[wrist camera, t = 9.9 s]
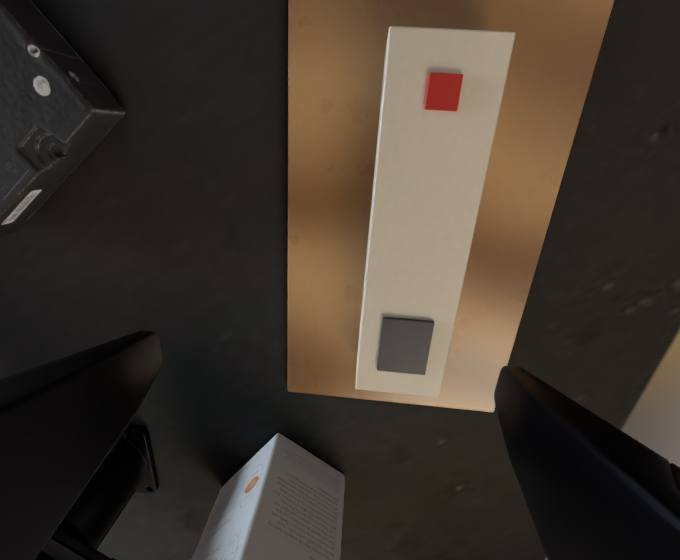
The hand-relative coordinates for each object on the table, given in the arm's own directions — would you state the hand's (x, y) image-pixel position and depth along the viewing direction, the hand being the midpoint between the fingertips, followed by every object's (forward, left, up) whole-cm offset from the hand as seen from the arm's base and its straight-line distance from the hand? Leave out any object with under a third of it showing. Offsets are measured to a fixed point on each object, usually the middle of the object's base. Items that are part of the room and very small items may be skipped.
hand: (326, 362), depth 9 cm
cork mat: (+1, -3, -11) cm, 11 cm away
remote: (+1, -3, -10) cm, 11 cm away
